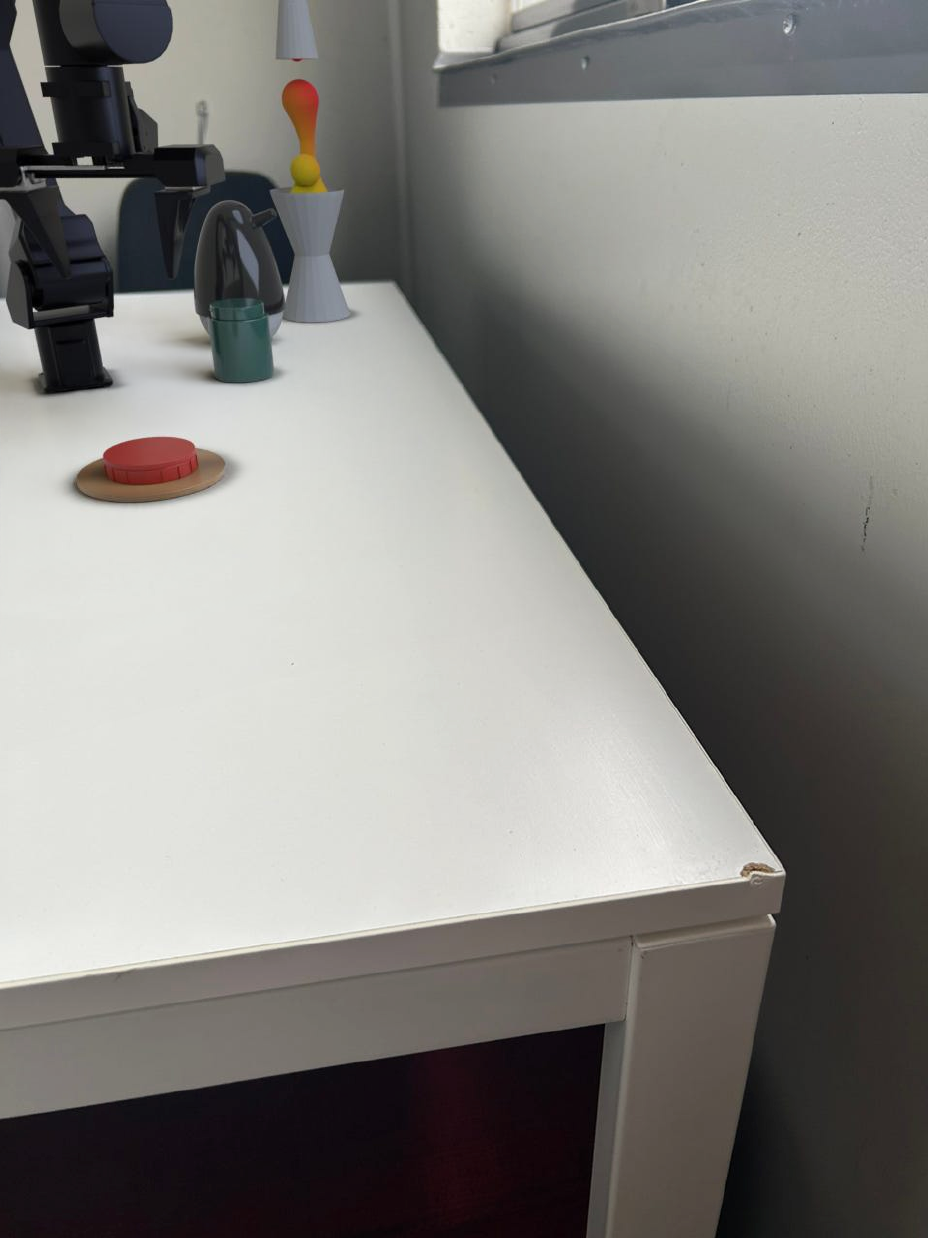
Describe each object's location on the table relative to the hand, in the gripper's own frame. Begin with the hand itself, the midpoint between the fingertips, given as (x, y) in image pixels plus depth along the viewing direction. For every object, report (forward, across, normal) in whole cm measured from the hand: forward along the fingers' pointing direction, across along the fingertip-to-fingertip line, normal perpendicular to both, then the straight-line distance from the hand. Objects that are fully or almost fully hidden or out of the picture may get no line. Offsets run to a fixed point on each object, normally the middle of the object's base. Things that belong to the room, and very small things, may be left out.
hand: (119, 278), depth 83 cm
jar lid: (+10, -6, +15) cm, 19 cm away
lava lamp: (+12, -7, -44) cm, 46 cm away
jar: (+12, -5, -15) cm, 20 cm away
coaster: (+12, -6, +15) cm, 20 cm away
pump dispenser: (+12, -1, -30) cm, 32 cm away
